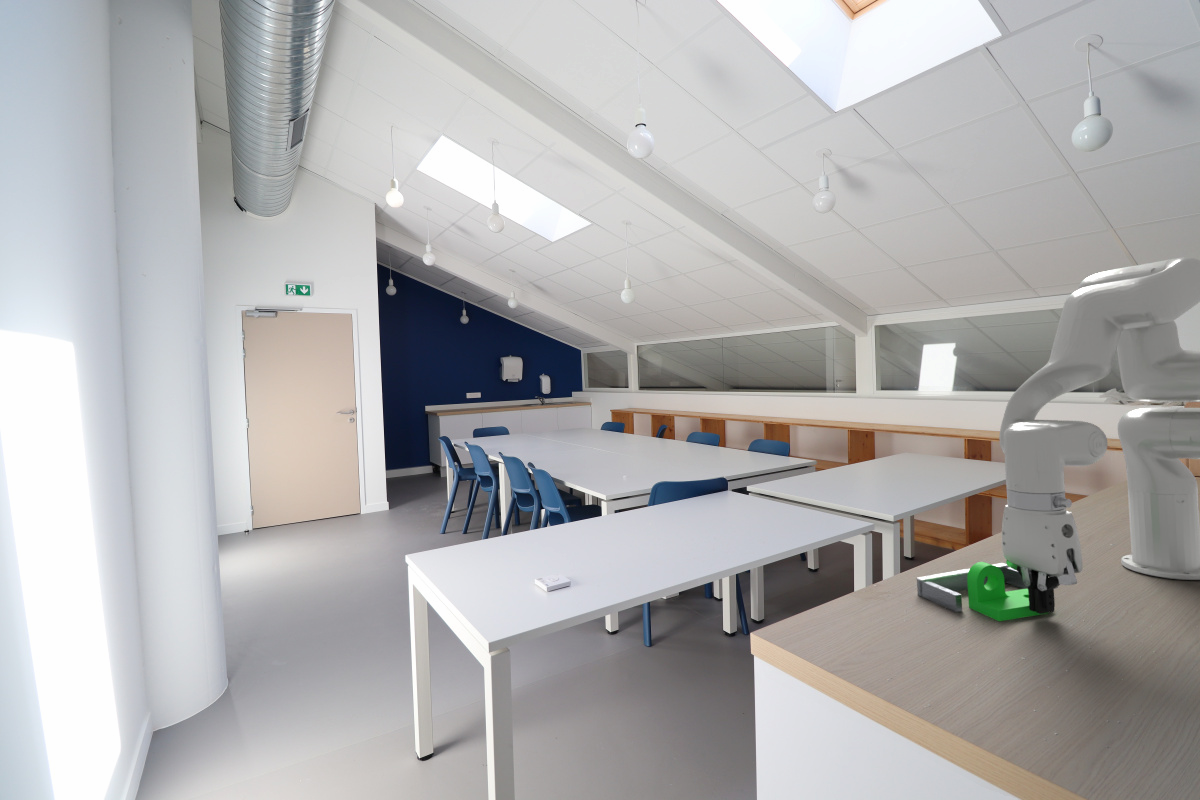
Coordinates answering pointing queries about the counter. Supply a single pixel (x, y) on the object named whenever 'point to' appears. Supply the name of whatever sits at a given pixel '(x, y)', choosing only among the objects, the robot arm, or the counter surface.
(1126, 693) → the counter surface
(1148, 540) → the robot arm
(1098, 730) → the counter surface
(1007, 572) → the steel bracket
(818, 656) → the counter surface
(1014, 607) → the mechanical part
